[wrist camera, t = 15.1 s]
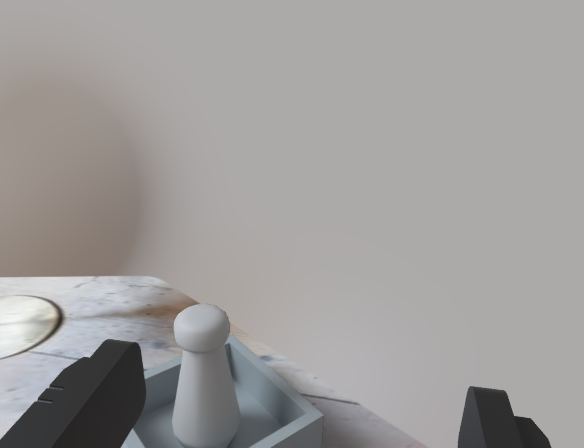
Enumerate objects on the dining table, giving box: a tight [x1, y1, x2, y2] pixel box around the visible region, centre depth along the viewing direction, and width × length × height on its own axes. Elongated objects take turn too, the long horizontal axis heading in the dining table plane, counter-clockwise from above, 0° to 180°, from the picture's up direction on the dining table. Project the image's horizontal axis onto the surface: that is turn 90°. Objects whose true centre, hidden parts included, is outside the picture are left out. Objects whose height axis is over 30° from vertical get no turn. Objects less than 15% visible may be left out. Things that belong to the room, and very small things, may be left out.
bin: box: [121, 334, 324, 448], centre depth 42 cm, size 14×14×5 cm
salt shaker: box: [172, 304, 241, 448], centre depth 40 cm, size 6×6×13 cm
